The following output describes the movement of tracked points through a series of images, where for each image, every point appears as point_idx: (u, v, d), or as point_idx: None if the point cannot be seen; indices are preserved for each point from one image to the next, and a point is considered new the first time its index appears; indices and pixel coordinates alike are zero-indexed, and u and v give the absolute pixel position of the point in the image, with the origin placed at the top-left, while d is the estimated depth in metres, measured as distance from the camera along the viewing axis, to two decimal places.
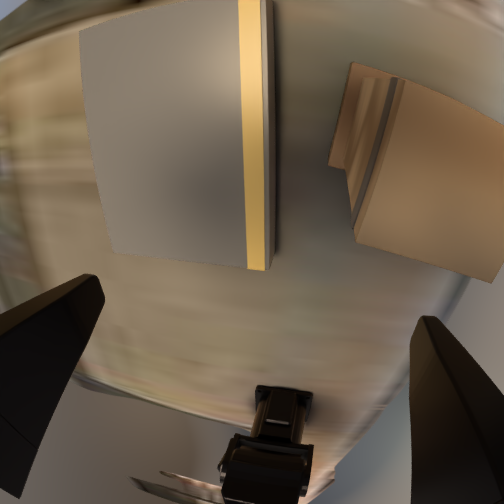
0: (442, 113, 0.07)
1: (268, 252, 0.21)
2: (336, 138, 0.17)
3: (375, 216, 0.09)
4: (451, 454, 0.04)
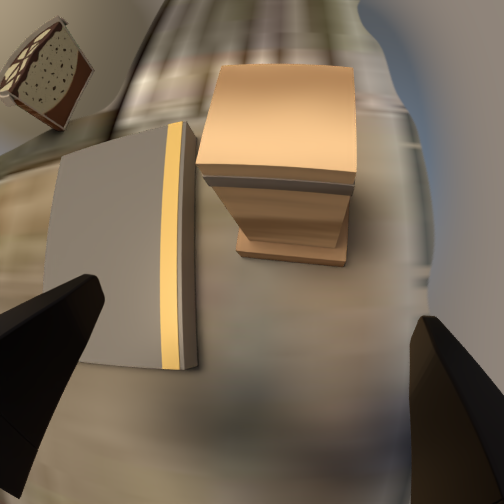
0: (248, 72, 0.12)
1: (182, 347, 0.19)
2: None
3: (209, 140, 0.11)
4: (451, 454, 0.04)
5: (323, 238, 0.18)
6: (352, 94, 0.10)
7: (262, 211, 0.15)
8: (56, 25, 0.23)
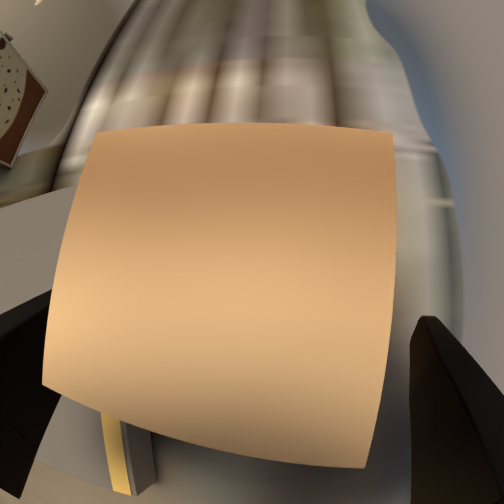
0: (139, 150, 0.05)
1: (132, 474, 0.13)
2: None
3: (57, 338, 0.05)
4: (451, 454, 0.04)
5: None
6: (390, 224, 0.04)
7: None
8: None
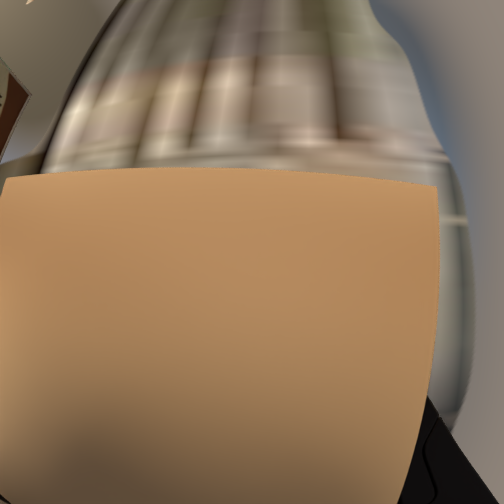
0: (43, 210, 0.03)
1: None
2: None
3: None
4: None
5: None
6: (422, 364, 0.02)
7: None
8: None
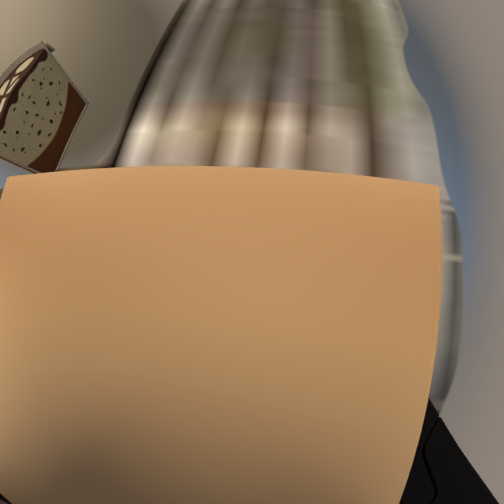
0: (44, 209, 0.03)
1: None
2: None
3: None
4: None
5: None
6: (425, 363, 0.02)
7: None
8: (40, 53, 0.20)
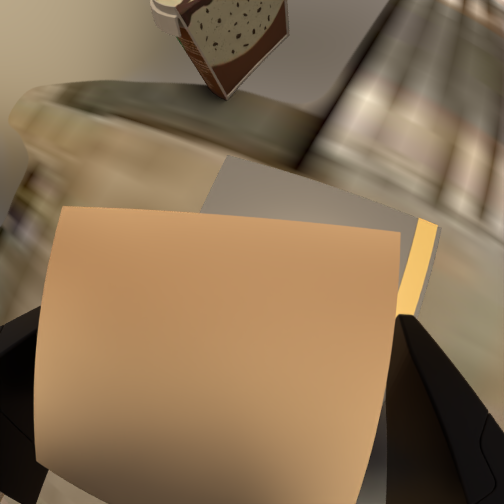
0: (105, 238, 0.05)
1: None
2: None
3: (44, 425, 0.04)
4: (421, 457, 0.04)
5: None
6: (384, 352, 0.04)
7: None
8: None
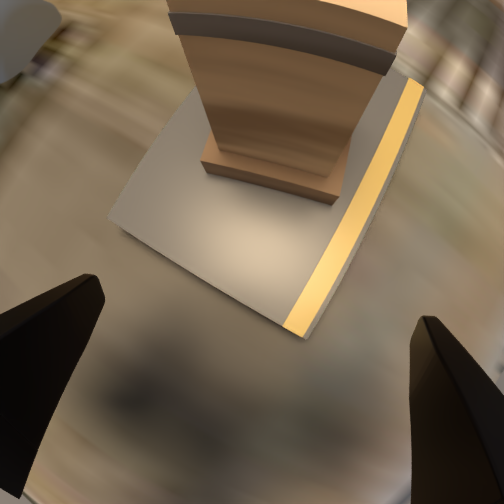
0: None
1: (320, 315, 0.16)
2: None
3: None
4: (451, 454, 0.04)
5: (318, 157, 0.13)
6: None
7: (244, 93, 0.10)
8: None
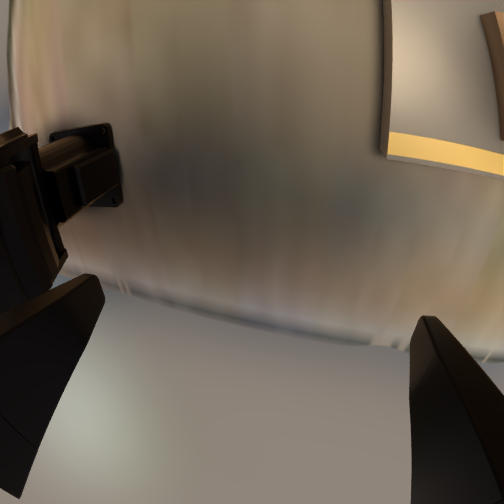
0: None
1: (411, 161, 0.15)
2: None
3: None
4: (451, 454, 0.04)
5: None
6: None
7: None
8: None
